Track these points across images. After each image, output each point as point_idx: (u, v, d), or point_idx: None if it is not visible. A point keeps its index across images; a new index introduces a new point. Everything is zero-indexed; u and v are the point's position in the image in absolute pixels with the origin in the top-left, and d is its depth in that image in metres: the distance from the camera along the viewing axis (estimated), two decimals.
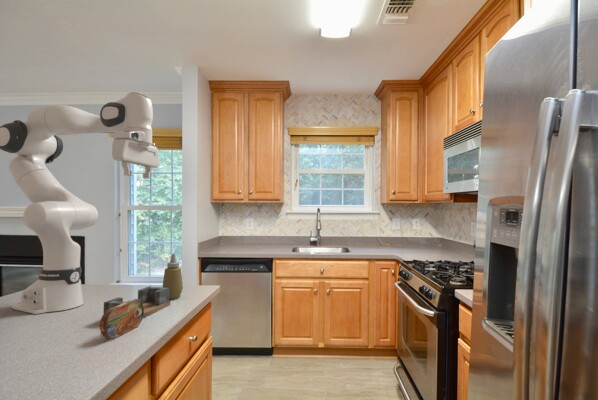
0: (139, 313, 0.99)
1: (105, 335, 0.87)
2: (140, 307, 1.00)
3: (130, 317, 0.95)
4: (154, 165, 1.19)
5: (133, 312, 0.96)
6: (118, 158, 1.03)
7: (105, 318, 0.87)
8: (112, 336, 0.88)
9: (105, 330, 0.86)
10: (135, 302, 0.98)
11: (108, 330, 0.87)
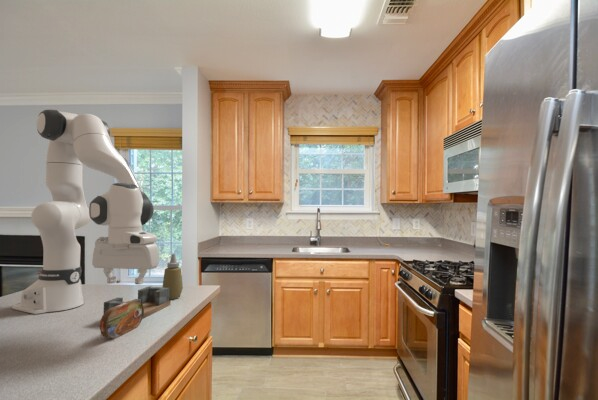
0: (139, 313, 0.99)
1: (105, 335, 0.87)
2: (140, 307, 1.00)
3: (130, 317, 0.95)
4: None
5: (133, 312, 0.96)
6: (155, 266, 0.92)
7: (105, 318, 0.87)
8: (112, 336, 0.88)
9: (105, 330, 0.86)
10: (135, 302, 0.98)
11: (108, 330, 0.87)
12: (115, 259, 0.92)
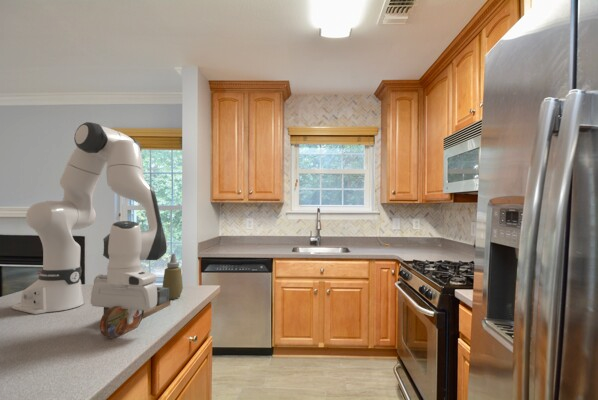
0: (139, 313, 0.99)
1: (105, 335, 0.87)
2: None
3: None
4: None
5: None
6: (153, 307, 0.92)
7: (105, 318, 0.87)
8: (112, 336, 0.88)
9: (105, 330, 0.86)
10: None
11: (108, 330, 0.87)
12: (113, 299, 0.92)
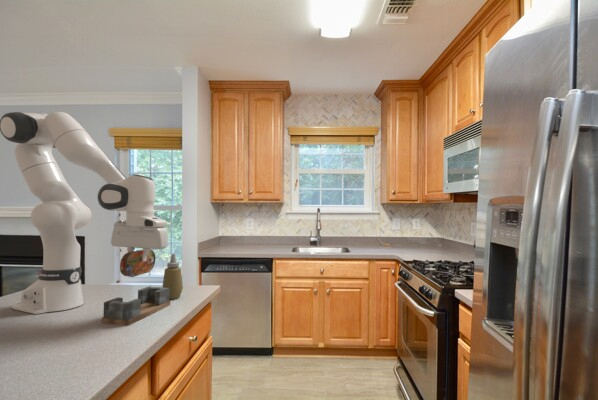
0: (151, 261, 1.15)
1: (123, 273, 1.03)
2: (152, 256, 1.16)
3: (144, 263, 1.11)
4: None
5: (147, 259, 1.13)
6: (164, 247, 1.08)
7: (125, 259, 1.03)
8: (129, 275, 1.04)
9: (124, 268, 1.02)
10: None
11: (126, 269, 1.03)
12: (131, 239, 1.08)
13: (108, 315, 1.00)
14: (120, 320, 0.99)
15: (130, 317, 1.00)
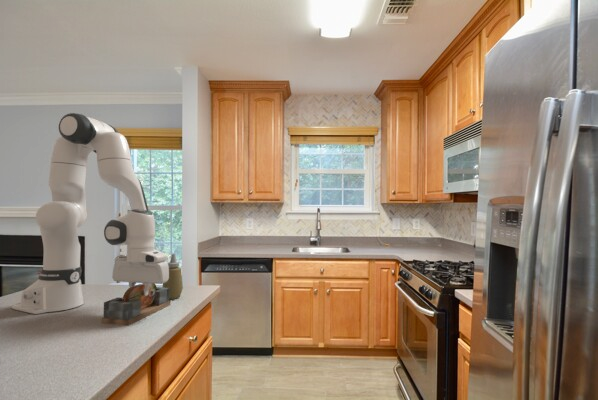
0: (153, 293, 1.16)
1: None
2: (154, 288, 1.17)
3: (146, 296, 1.13)
4: None
5: None
6: (166, 281, 1.09)
7: (127, 295, 1.04)
8: None
9: None
10: None
11: None
12: (132, 274, 1.09)
13: (108, 315, 1.00)
14: (120, 320, 0.99)
15: (130, 317, 1.00)
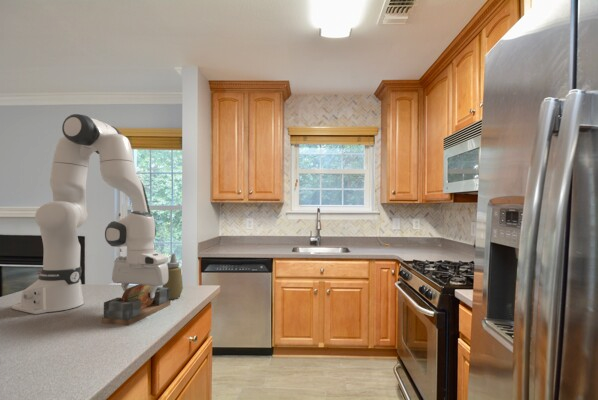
0: None
1: None
2: None
3: (145, 296, 1.13)
4: None
5: (147, 292, 1.14)
6: (165, 283, 1.09)
7: (126, 295, 1.04)
8: None
9: None
10: None
11: None
12: (131, 276, 1.09)
13: (108, 315, 1.00)
14: (120, 320, 0.99)
15: (130, 317, 1.00)
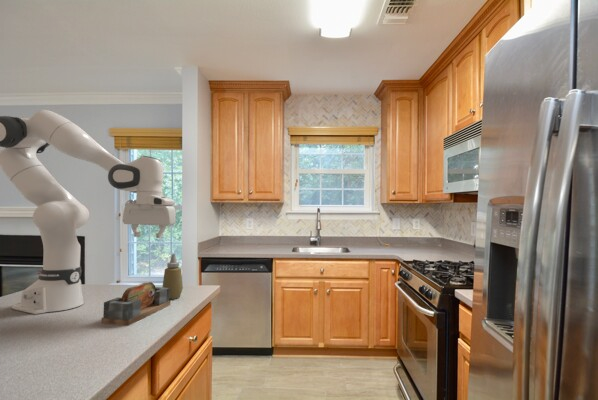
0: (152, 293, 1.16)
1: None
2: (153, 288, 1.17)
3: (145, 296, 1.13)
4: None
5: (147, 292, 1.14)
6: (172, 224, 1.15)
7: (126, 295, 1.04)
8: None
9: None
10: (149, 283, 1.15)
11: None
12: (141, 217, 1.15)
13: (108, 315, 1.00)
14: (120, 320, 0.99)
15: (130, 317, 1.00)
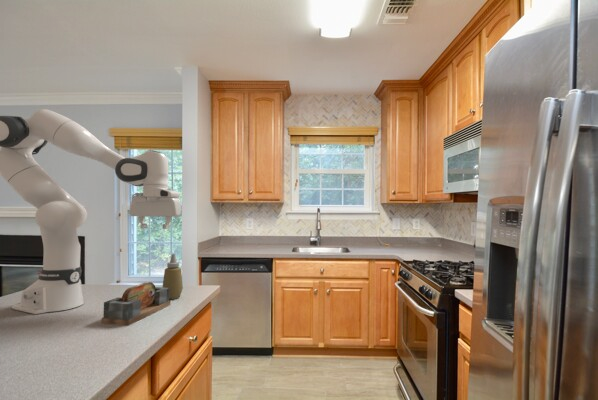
0: (152, 293, 1.16)
1: None
2: (153, 288, 1.17)
3: (145, 296, 1.13)
4: None
5: (147, 292, 1.14)
6: (178, 215, 1.20)
7: (126, 295, 1.04)
8: None
9: None
10: (149, 283, 1.15)
11: None
12: (147, 209, 1.20)
13: (108, 315, 1.00)
14: (120, 320, 0.99)
15: (130, 317, 1.00)
